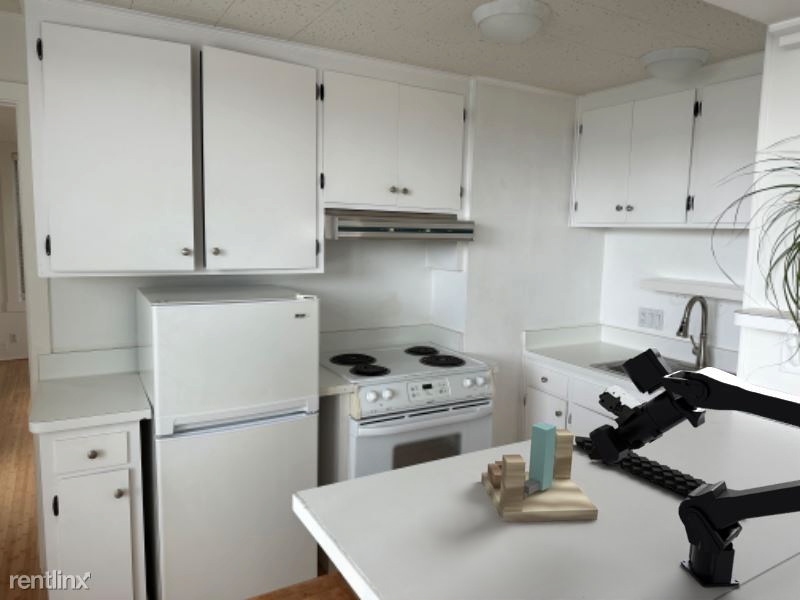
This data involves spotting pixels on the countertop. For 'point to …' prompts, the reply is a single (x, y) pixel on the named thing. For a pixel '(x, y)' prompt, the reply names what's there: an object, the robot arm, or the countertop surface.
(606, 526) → the countertop surface
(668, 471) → the black segmented strip
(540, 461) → the folding leg
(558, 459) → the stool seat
